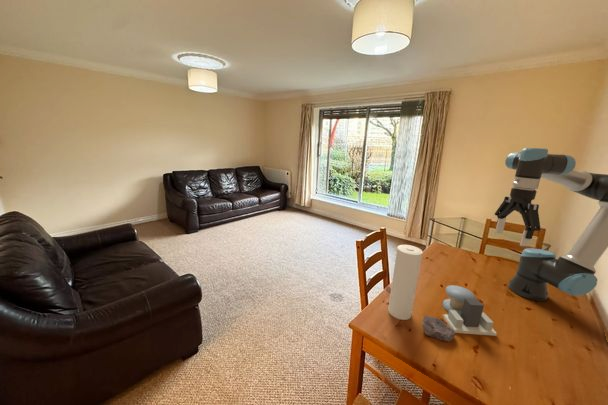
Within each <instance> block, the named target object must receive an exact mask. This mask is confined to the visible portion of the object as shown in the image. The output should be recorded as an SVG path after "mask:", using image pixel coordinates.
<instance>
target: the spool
mask: <svg viewBox="0 0 608 405" xmlns="http://www.w3.org/2000/svg"><path fill="white" fill-rule="evenodd" d="M445 293H446V295H447V296H448V297H450V298H446V299H444V300H443V302H442V306H443V309H444V310H446V312H448V313H449V310H456V312H457V313H458V314H459V315H460V316H461V312H462V308H463V304H464V300H465V299H476V295H475V294H474V293H473V291H471V290H469V289H467V288H465V287H463V286H460V285H453V284H451V285H448V286H446V287H445Z"/></svg>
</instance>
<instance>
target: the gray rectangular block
mask: <svg viewBox="0 0 608 405" xmlns="http://www.w3.org/2000/svg"><path fill="white" fill-rule="evenodd" d="M484 308H485V306H484V304H483V303H482V302H481V301H480V300H478V298H475V299H465V300H464V304H463V308H462V312H461V318H462V319H463V320H464V321H463V324H464V325H465V326H466V327H479V323H480V319H481V315H482V312H483V311H484Z"/></svg>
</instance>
